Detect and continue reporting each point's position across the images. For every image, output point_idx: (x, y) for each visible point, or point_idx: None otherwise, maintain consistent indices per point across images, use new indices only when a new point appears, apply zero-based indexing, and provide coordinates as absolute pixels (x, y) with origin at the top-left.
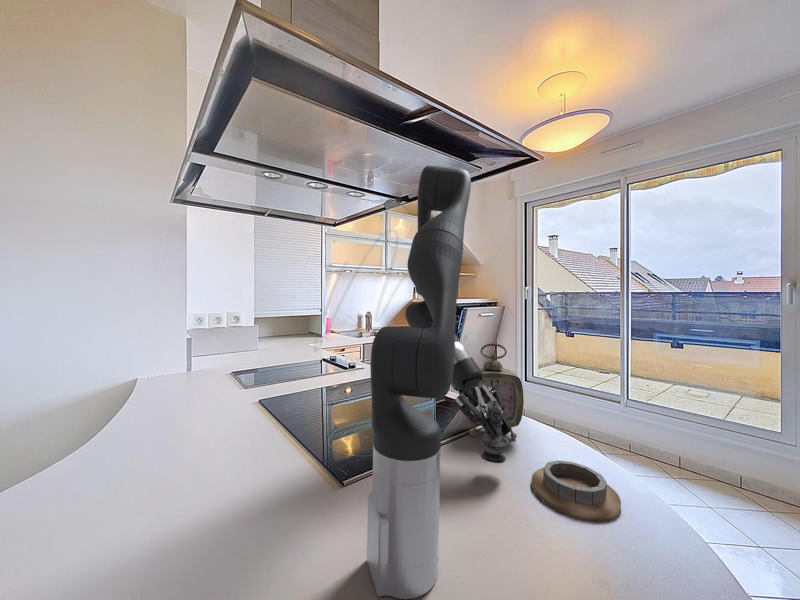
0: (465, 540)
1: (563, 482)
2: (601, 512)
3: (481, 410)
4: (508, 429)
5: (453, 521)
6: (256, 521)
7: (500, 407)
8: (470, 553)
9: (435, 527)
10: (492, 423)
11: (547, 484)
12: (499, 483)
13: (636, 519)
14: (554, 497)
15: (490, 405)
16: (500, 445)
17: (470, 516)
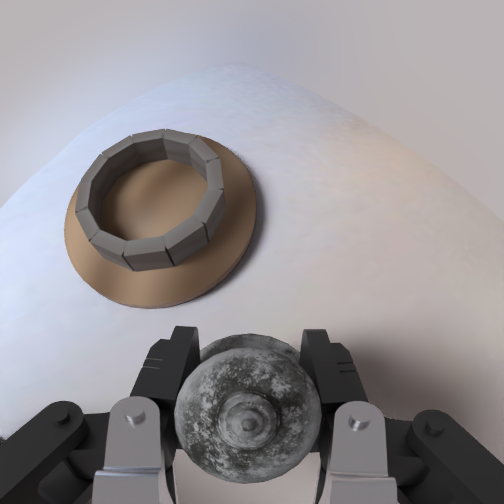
0: (476, 281)
1: (209, 183)
2: (211, 143)
3: (383, 463)
4: (195, 336)
5: (469, 329)
6: None
7: (223, 359)
8: (482, 259)
9: None
10: (328, 372)
11: (208, 235)
12: None
13: (164, 125)
14: (236, 214)
15: (294, 445)
16: (282, 344)
17: (436, 320)
